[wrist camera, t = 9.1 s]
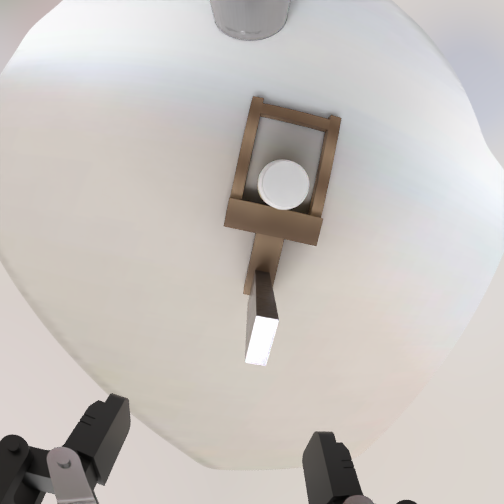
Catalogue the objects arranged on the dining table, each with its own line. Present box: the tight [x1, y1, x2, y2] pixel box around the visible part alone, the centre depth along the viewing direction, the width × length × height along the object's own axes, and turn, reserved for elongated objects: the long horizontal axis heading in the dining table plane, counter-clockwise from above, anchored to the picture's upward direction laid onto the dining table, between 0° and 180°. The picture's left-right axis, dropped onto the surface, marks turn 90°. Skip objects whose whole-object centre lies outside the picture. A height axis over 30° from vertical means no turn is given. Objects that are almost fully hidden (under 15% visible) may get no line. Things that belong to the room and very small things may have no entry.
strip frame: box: [224, 96, 341, 366], centre depth 25 cm, size 23×10×14 cm, turn 168°
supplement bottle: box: [257, 159, 309, 210], centre depth 28 cm, size 5×5×8 cm
